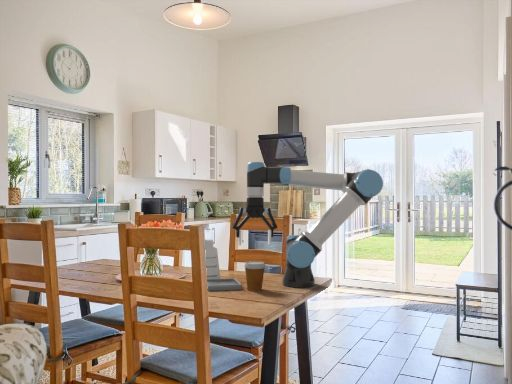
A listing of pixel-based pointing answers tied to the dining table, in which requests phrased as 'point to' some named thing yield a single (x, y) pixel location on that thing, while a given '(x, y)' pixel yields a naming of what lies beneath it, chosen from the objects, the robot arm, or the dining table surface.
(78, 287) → the dining table surface
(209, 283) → the grey square tray
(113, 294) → the dining table surface
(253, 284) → the disposable coffee cup
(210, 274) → the grater
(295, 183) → the robot arm
